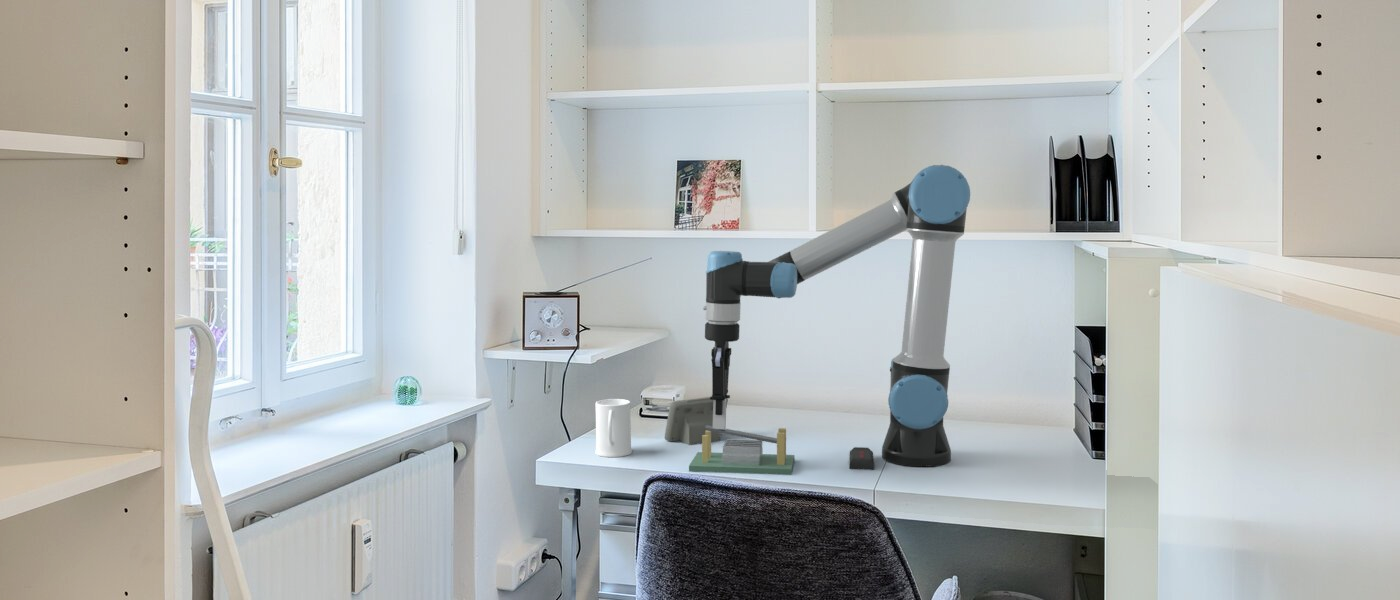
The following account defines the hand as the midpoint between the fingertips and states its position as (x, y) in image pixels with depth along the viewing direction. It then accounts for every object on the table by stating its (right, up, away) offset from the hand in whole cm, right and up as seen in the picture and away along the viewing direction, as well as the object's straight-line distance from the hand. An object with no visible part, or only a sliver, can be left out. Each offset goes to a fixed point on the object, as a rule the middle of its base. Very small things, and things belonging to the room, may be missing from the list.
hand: (719, 428), depth 208 cm
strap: (+5, -2, -1) cm, 6 cm away
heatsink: (+5, -7, 0) cm, 9 cm away
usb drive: (+32, -8, +2) cm, 33 cm away
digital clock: (-5, -6, +25) cm, 26 cm away
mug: (-24, -8, +11) cm, 28 cm away
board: (+5, -8, 0) cm, 10 cm away
